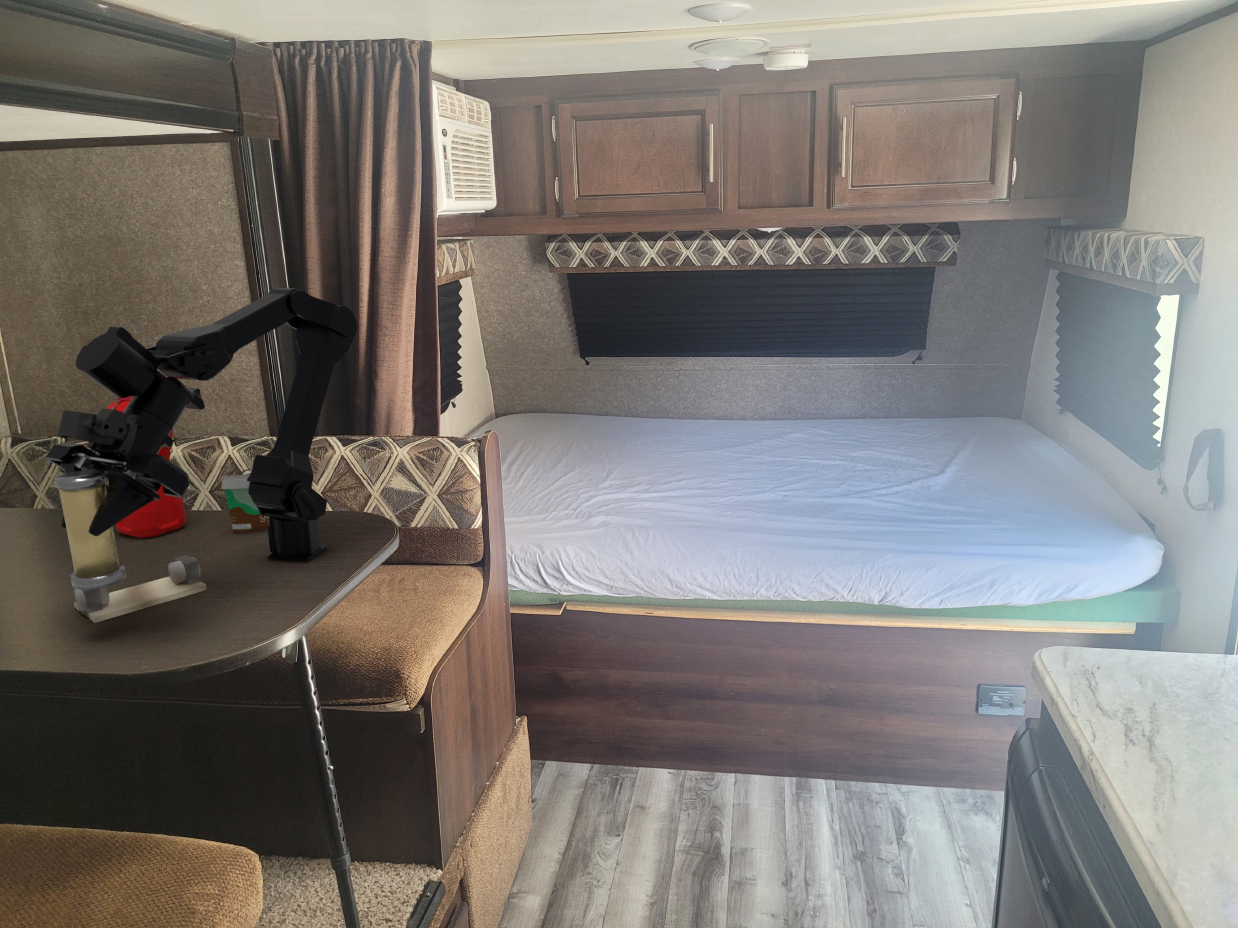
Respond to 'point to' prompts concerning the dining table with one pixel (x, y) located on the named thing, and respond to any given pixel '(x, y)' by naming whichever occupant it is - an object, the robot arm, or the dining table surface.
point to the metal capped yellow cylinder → (88, 552)
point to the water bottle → (152, 503)
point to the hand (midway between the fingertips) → (78, 531)
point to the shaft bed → (141, 592)
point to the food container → (242, 505)
